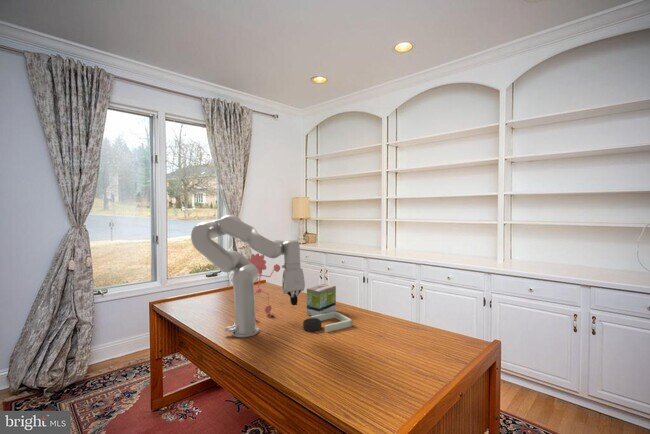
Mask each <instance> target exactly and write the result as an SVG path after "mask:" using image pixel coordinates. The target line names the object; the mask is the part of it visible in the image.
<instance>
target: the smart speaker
mask: <svg viewBox="0 0 650 434" xmlns="http://www.w3.org/2000/svg"><path fill="white" fill-rule="evenodd" d="M302 326H303V330H305V331H307V332H316V331H319V330H321V328H322V321H320V320H319V319H317V318H311V317H310V318H309V317H308V318H306V319H304V320H303V323H302Z"/></svg>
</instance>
